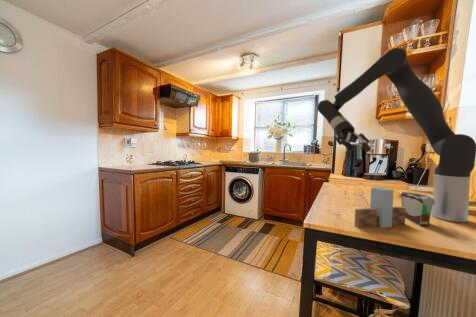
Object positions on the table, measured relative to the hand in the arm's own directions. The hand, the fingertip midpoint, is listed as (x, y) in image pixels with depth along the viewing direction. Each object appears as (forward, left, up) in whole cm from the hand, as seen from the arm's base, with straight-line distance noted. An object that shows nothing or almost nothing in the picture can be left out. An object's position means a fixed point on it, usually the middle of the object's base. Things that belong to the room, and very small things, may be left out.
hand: (360, 150), depth 78 cm
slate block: (+4, +14, -27) cm, 30 cm away
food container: (-14, +14, -27) cm, 33 cm away
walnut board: (+4, +14, -27) cm, 30 cm away
